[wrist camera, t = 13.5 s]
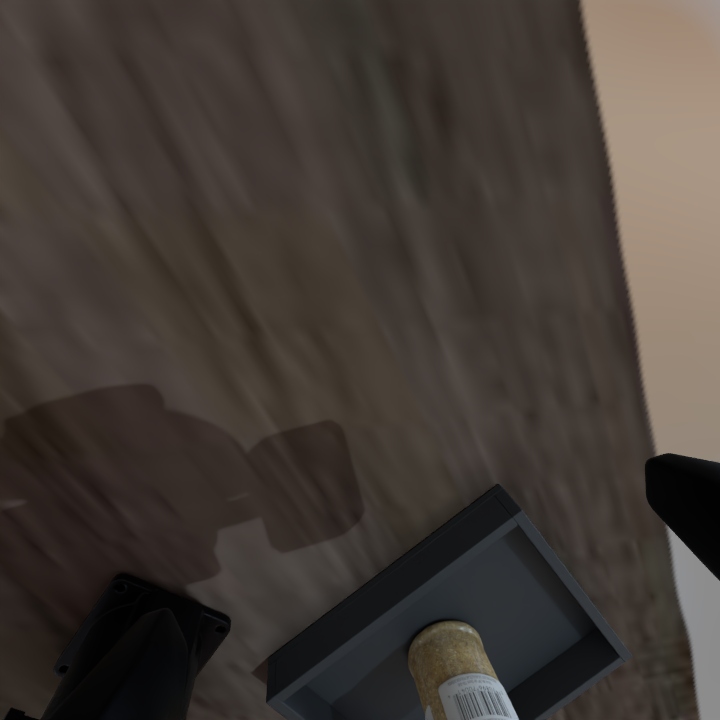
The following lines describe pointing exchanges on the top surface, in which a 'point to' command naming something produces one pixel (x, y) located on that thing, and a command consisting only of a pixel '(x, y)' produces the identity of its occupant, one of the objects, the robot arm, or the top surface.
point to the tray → (452, 603)
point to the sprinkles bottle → (456, 675)
